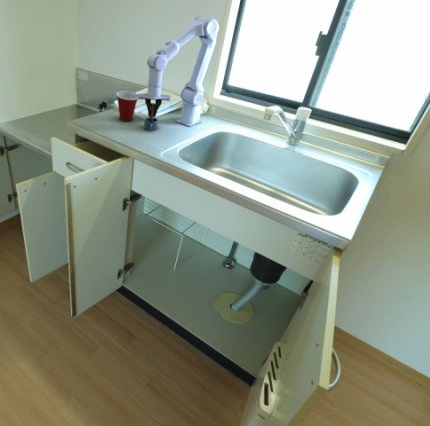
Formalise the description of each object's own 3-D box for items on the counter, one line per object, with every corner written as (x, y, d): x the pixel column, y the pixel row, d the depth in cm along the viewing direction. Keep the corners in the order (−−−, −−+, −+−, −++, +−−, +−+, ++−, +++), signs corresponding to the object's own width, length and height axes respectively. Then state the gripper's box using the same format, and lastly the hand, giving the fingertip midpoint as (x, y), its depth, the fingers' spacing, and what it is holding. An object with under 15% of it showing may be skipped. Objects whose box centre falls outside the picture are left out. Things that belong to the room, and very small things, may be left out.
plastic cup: (129, 125, 152) (131, 99, 145) (110, 119, 156) (111, 94, 149) (141, 119, 159) (143, 94, 152) (123, 114, 164) (124, 89, 157)
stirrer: (150, 124, 151) (152, 102, 145) (154, 125, 150) (156, 103, 144) (147, 125, 150) (149, 103, 144) (151, 126, 149) (153, 104, 143)
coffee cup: (144, 125, 153) (145, 116, 151) (157, 126, 153) (158, 117, 151) (143, 131, 146) (143, 123, 144) (157, 133, 146) (157, 124, 144)
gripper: (137, 86, 136) (135, 118, 144) (172, 88, 136) (168, 120, 144) (137, 81, 142) (135, 112, 150) (171, 83, 142) (167, 114, 150)
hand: (151, 116), depth 147 cm, fingers closed on stirrer, 2 cm apart
